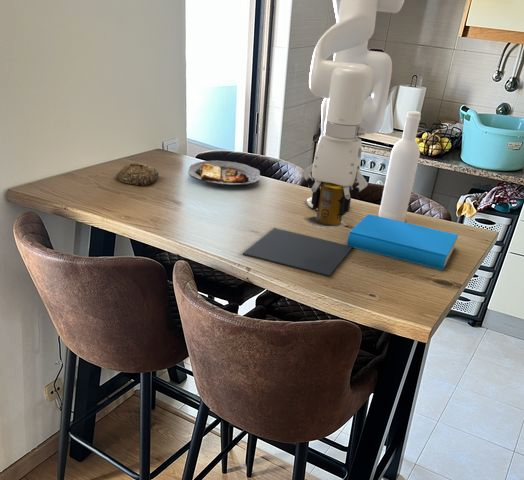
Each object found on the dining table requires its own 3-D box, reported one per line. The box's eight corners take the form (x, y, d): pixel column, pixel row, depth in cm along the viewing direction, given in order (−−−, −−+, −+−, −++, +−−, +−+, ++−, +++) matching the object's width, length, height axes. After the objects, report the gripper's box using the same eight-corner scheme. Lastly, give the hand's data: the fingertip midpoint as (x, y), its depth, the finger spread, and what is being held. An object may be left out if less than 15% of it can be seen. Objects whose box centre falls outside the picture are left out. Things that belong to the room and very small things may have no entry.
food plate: (258, 193, 176) (259, 182, 174) (184, 186, 175) (184, 175, 173) (260, 171, 197) (260, 161, 195) (193, 165, 196) (193, 155, 194)
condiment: (348, 225, 133) (357, 174, 127) (320, 230, 129) (328, 177, 123) (329, 215, 138) (337, 165, 132) (301, 219, 134) (308, 168, 127)
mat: (274, 229, 151) (274, 228, 151) (352, 248, 145) (353, 246, 144) (242, 254, 135) (242, 253, 135) (329, 276, 129) (329, 275, 129)
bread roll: (163, 177, 182) (163, 161, 179) (148, 187, 172) (147, 171, 169) (126, 171, 184) (125, 156, 181) (109, 181, 173) (108, 165, 171)
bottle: (384, 214, 169) (406, 107, 153) (408, 221, 166) (434, 113, 149) (372, 220, 164) (394, 110, 147) (397, 228, 160) (422, 116, 144)
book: (367, 213, 156) (458, 233, 148) (364, 228, 158) (454, 248, 150) (348, 232, 143) (447, 254, 135) (346, 248, 145) (443, 271, 137)
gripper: (384, 134, 123) (368, 214, 132) (310, 121, 128) (300, 199, 137) (376, 140, 117) (360, 223, 126) (298, 126, 122) (289, 207, 131)
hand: (329, 210), depth 132 cm, fingers closed on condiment, 6 cm apart
